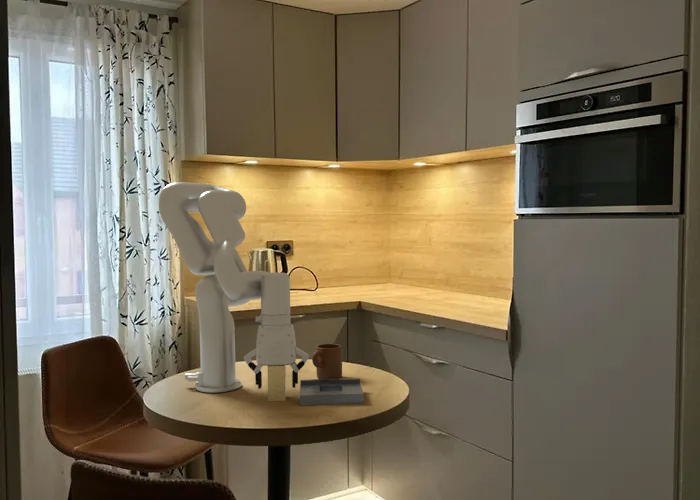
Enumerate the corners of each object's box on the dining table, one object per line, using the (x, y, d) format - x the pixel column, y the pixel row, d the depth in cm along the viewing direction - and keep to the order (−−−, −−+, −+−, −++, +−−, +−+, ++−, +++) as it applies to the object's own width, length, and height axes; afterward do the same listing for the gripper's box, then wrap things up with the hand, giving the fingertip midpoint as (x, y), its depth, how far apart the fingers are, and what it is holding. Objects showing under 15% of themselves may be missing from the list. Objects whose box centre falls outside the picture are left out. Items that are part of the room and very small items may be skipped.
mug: (324, 385, 175) (324, 352, 175) (302, 382, 179) (302, 349, 179) (347, 376, 186) (346, 345, 185) (325, 373, 190) (325, 342, 189)
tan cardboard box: (268, 401, 160) (267, 366, 160) (269, 396, 165) (268, 362, 164) (285, 400, 161) (284, 365, 160) (286, 396, 165) (285, 362, 165)
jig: (299, 405, 156) (299, 391, 156) (300, 392, 168) (300, 379, 168) (363, 403, 157) (363, 389, 157) (359, 391, 169) (359, 378, 169)
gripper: (240, 323, 158) (241, 391, 158) (309, 321, 159) (310, 389, 159) (243, 319, 165) (244, 384, 166) (309, 317, 166) (310, 382, 167)
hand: (276, 386), depth 163 cm, fingers open, 8 cm apart
